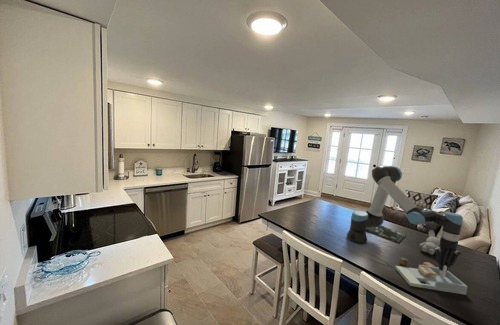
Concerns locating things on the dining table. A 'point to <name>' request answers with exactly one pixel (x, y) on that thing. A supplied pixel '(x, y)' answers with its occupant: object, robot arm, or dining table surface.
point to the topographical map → (386, 233)
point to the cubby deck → (432, 280)
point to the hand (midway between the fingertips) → (442, 275)
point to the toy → (430, 243)
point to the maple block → (427, 272)
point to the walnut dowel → (403, 262)
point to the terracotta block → (428, 264)
